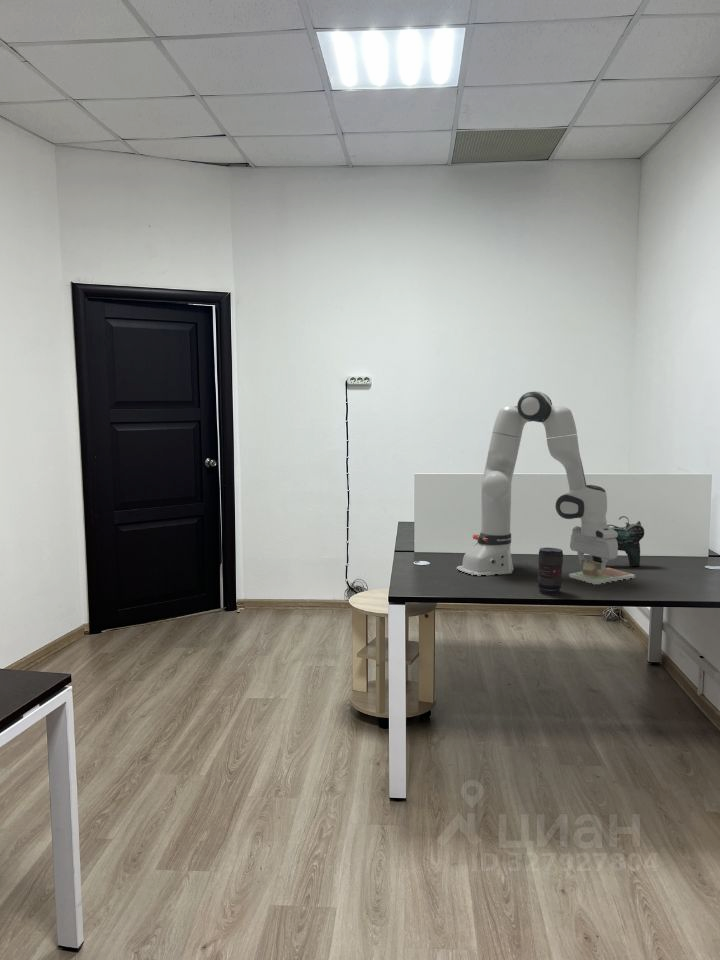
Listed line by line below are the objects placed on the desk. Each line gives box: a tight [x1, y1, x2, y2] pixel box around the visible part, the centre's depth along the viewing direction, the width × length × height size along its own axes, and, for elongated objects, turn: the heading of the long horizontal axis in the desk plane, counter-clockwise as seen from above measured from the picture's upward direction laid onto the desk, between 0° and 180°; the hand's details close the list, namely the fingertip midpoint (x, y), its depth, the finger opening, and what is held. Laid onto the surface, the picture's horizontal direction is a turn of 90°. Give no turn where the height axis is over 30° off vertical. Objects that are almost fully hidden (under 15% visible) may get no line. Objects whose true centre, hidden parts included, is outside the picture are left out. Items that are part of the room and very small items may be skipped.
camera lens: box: [537, 547, 564, 595], centre depth 249 cm, size 8×8×15 cm
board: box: [568, 567, 636, 586], centre depth 270 cm, size 20×13×2 cm, turn 118°
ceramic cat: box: [591, 515, 645, 567], centre depth 286 cm, size 20×6×20 cm, turn 89°
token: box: [582, 560, 601, 577], centre depth 267 cm, size 4×4×4 cm
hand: (592, 566), depth 267 cm, fingers open, 8 cm apart
